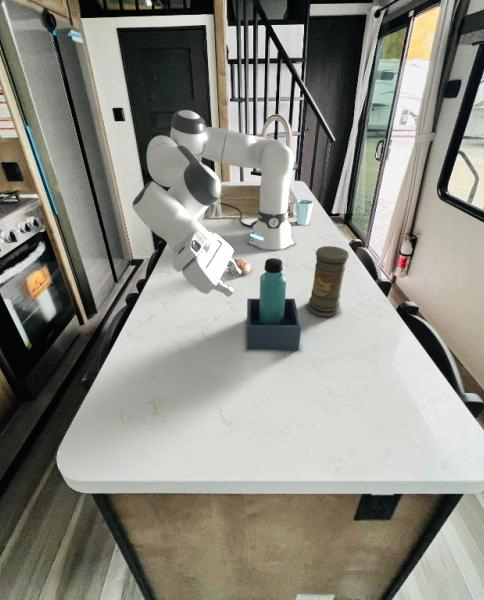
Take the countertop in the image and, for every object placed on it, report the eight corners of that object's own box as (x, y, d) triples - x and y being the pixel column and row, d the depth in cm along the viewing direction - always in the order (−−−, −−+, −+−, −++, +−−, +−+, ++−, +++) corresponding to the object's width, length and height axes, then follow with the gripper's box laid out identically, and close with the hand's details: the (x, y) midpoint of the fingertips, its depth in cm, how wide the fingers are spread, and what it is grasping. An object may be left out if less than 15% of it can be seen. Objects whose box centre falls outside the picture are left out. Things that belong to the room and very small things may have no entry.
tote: (247, 319, 89) (247, 298, 85) (292, 319, 89) (294, 298, 85) (247, 349, 78) (247, 327, 75) (298, 350, 78) (301, 327, 74)
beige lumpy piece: (226, 277, 110) (248, 273, 108) (223, 260, 109) (245, 255, 107) (232, 277, 117) (253, 273, 115) (229, 261, 117) (250, 256, 115)
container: (318, 297, 99) (327, 242, 89) (344, 308, 93) (356, 251, 84) (301, 308, 94) (308, 251, 84) (328, 321, 88) (338, 262, 78)
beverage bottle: (282, 339, 80) (287, 268, 69) (256, 336, 81) (257, 265, 70) (284, 324, 85) (290, 256, 75) (260, 321, 86) (261, 253, 76)
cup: (300, 226, 152) (302, 205, 147) (291, 222, 158) (293, 201, 153) (313, 224, 155) (316, 202, 149) (304, 220, 161) (306, 199, 155)
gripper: (198, 236, 84) (235, 272, 88) (169, 271, 67) (216, 313, 71) (214, 220, 81) (251, 258, 85) (187, 253, 64) (236, 298, 68)
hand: (235, 284), depth 78 cm, fingers open, 8 cm apart
